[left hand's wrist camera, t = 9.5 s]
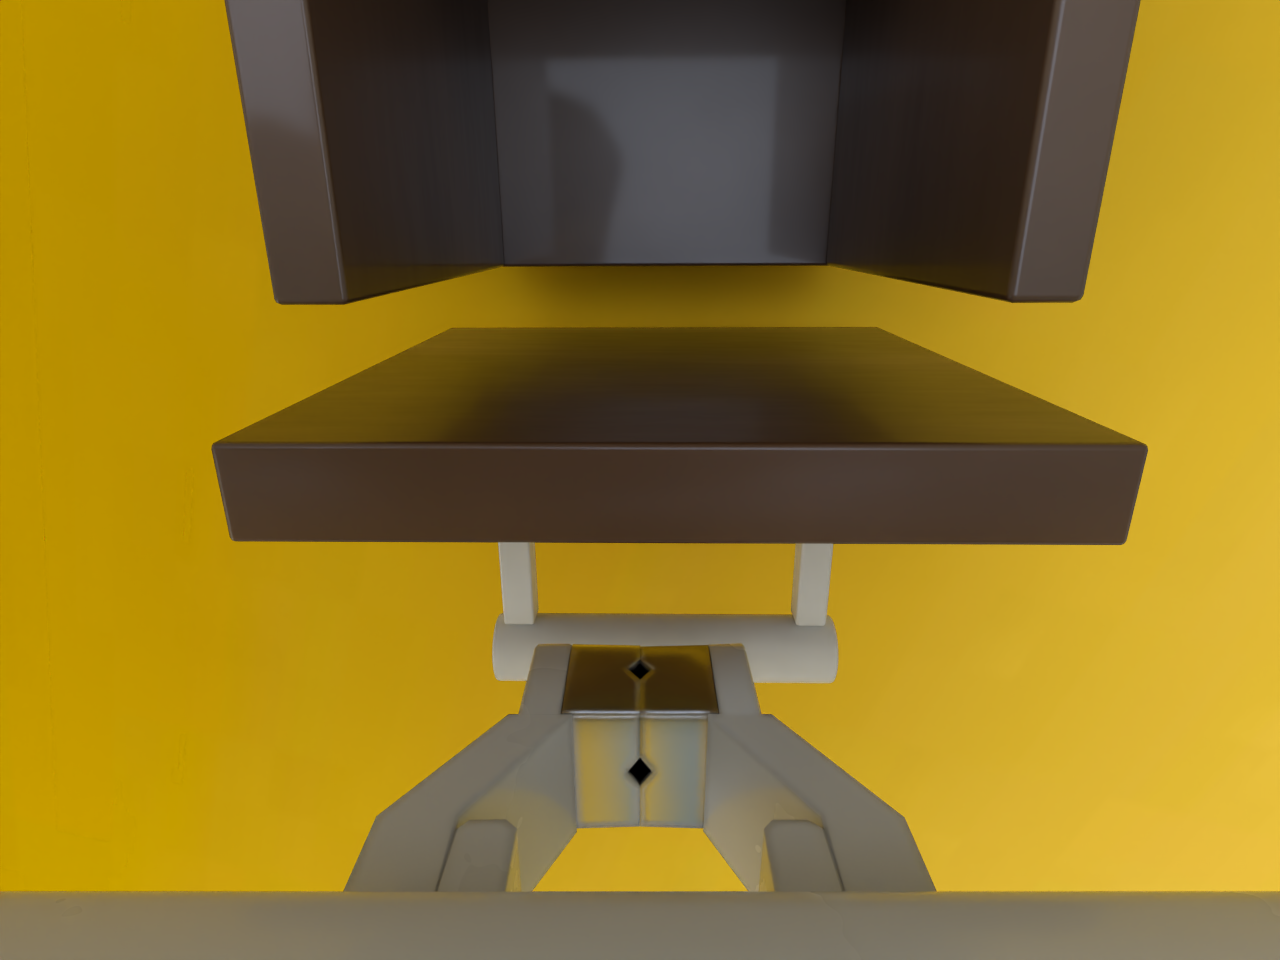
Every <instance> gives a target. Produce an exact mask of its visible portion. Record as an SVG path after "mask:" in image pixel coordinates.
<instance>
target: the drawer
mask: <svg viewBox="0 0 1280 960" xmlns="http://www.w3.org/2000/svg"><path fill="white" fill-rule="evenodd" d="M1139 5H1140V0H225V6H226V12H227V18H228V23H229V29H230V35H231V41H232V47H233V53H234V59H235V65H236V71H237V77H238V83H239V89H240V95H241V101H242V107H243V113H244V119H245V125H246V131H247V137H248V143H249V149H250V155H251V161H252V167H253V173H254V179H255V185H256V191H257V197H258V203H259V209H260V215H261V221H262V227H263V233H264V239H265V245H266V251H267V257H268V263H269V269H270V275H271V280H272V286H273V292H274V298H275V301H276V302H277V303H279V304H282V305H342V304H349V303H353V302H357V301H361V300H365V299H369V298H374V297H378V296H382V295H386V294H390V293H394V292H399V291H403V290H407V289H411V288H415V287H420V286H424V285H428V284H432V283H436V282H440V281H445V280H449V279H453V278H457V277H461V276H466V275H470V274H474V273H478V272H482V271H486V270H491V269H495V268H499V267H551V266H833V267H838V268H843V269H848V270H853V271H858V272H863V273H868V274H873V275H878V276H883V277H888V278H892V279H897V280H902V281H907V282H912V283H917V284H922V285H927V286H932V287H937V288H942V289H947V290H952V291H957V292H962V293H967V294H972V295H976V296H981V297H986V298H991V299H996V300H1001V301H1006V302H1011V303H1073V302H1075V301H1078V300H1080V299H1081V298H1082V296H1083V294H1084V289H1085V284H1086V279H1087V273H1088V268H1089V263H1090V258H1091V253H1092V248H1093V242H1094V237H1095V232H1096V227H1097V222H1098V217H1099V212H1100V206H1101V201H1102V196H1103V191H1104V186H1105V181H1106V175H1107V170H1108V165H1109V160H1110V155H1111V150H1112V145H1113V139H1114V134H1115V129H1116V124H1117V119H1118V114H1119V108H1120V103H1121V98H1122V93H1123V88H1124V83H1125V78H1126V72H1127V67H1128V62H1129V57H1130V52H1131V47H1132V41H1133V36H1134V31H1135V26H1136V21H1137V16H1138V10H1139ZM1147 452H1148V448H1147V446H1146V444H1144V443H1141V442H1139V441H1137V440H1134V439H1132V438H1130V437H1127V436H1125V435H1123V434H1121V433H1118V432H1116V431H1114V430H1111V429H1109V428H1107V427H1105V426H1102V425H1100V424H1098V423H1095V422H1093V421H1091V420H1088V419H1086V418H1084V417H1082V416H1079V415H1077V414H1075V413H1072V412H1070V411H1068V410H1065V409H1063V408H1061V407H1059V406H1056V405H1054V404H1052V403H1049V402H1047V401H1045V400H1043V399H1040V398H1038V397H1036V396H1033V395H1031V394H1029V393H1026V392H1024V391H1022V390H1020V389H1017V388H1015V387H1013V386H1010V385H1008V384H1006V383H1004V382H1001V381H999V380H997V379H994V378H992V377H990V376H987V375H985V374H983V373H981V372H978V371H976V370H974V369H971V368H969V367H967V366H965V365H962V364H960V363H958V362H955V361H953V360H951V359H948V358H946V357H944V356H942V355H939V354H937V353H935V352H932V351H930V350H928V349H926V348H923V347H921V346H919V345H916V344H914V343H912V342H909V341H907V340H905V339H903V338H900V337H898V336H896V335H893V334H891V333H889V332H887V331H884V330H882V329H880V328H877V327H709V328H451V329H449V330H447V331H445V332H443V333H441V334H438V335H436V336H434V337H432V338H430V339H428V340H426V341H424V342H422V343H420V344H418V345H416V346H414V347H412V348H409V349H407V350H405V351H403V352H401V353H399V354H397V355H395V356H393V357H391V358H389V359H387V360H385V361H383V362H380V363H378V364H376V365H374V366H372V367H370V368H368V369H366V370H364V371H362V372H360V373H358V374H356V375H354V376H351V377H349V378H347V379H345V380H343V381H341V382H339V383H337V384H335V385H333V386H331V387H329V388H327V389H325V390H322V391H320V392H318V393H316V394H314V395H312V396H310V397H308V398H306V399H304V400H302V401H300V402H298V403H296V404H293V405H291V406H289V407H287V408H285V409H283V410H281V411H279V412H277V413H275V414H273V415H271V416H269V417H267V418H264V419H262V420H260V421H258V422H256V423H254V424H252V425H250V426H248V427H246V428H244V429H242V430H240V431H238V432H235V433H233V434H231V435H229V436H227V437H225V438H223V439H221V440H219V441H217V442H215V443H213V445H212V453H213V458H214V463H215V468H216V472H217V477H218V482H219V487H220V492H221V496H222V501H223V506H224V511H225V515H226V520H227V525H228V530H229V535H230V538H231V539H232V540H233V541H296V542H498V547H499V560H500V573H501V586H502V600H503V613H502V614H500V615H499V616H498V619H497V621H496V625H495V629H494V636H493V647H492V660H493V670H494V674H495V677H496V679H497V680H499V681H527V677H528V673H529V669H530V665H531V661H532V657H533V653H534V649H535V648H536V646H537V645H538V644H571V645H573V644H598V645H640V646H682V645H709V644H736V643H741V644H742V645H744V646H745V650H746V654H747V658H748V662H749V666H750V670H751V674H752V678H753V682H754V683H832V682H833V681H834V680H835V677H836V674H837V669H838V642H837V635H836V630H835V626H834V623H833V621H832V619H831V617H830V616H828V615H827V606H828V595H829V585H830V574H831V563H832V552H833V544H1028V545H1122V544H1124V543H1125V542H1126V540H1127V535H1128V531H1129V527H1130V523H1131V519H1132V515H1133V510H1134V506H1135V502H1136V498H1137V494H1138V489H1139V485H1140V481H1141V477H1142V473H1143V469H1144V464H1145V460H1146V456H1147ZM535 542H540V543H784V544H796V548H795V562H794V575H793V589H792V602H791V612H792V615H772V614H606V613H537V612H538V592H537V575H536V557H535Z"/></svg>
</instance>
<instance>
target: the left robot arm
mask: <svg viewBox="0 0 1280 960" xmlns="http://www.w3.org/2000/svg"><path fill="white" fill-rule="evenodd" d="M635 826H643V827H678V828H704V829H703V831H704V833H705V834H706V835H707V837H708V838H709V839H710V841H711V842H712V843H713V845H714V846H715V847H716V849H717V850H718V851H719V853H720V854H721V855H722V857H723V858H724V859H725V861H726V862H727V863H728V865H729V866H730V867H731V869H732V870H733V871H734V873H735V874H736V875H737V877H738V878H739V879H740V881H741V882H742V883H743V885H744V886H745V887H746V889H747V890H748V891H722V892H532V891H533V889H534V888H535V887H536V885H537V884H538V883H539V881H540V880H541V879H542V877H543V876H544V875H545V873H546V872H547V871H548V869H549V868H550V867H551V865H552V864H553V863H554V861H555V860H556V859H557V857H558V856H559V855H560V853H561V852H562V851H563V849H564V848H565V847H566V845H567V844H568V843H569V841H570V840H571V839H572V837H573V836H574V835H575V833H576V832H577V828H601V827H635ZM0 960H1280V891H1084V892H937V891H936V889H935V886H934V884H933V882H932V880H931V877H930V875H929V873H928V870H927V868H926V866H925V864H924V861H923V859H922V857H921V854H920V852H919V850H918V848H917V845H916V843H915V841H914V838H913V836H912V834H911V831H910V829H909V827H908V825H907V822H906V820H905V818H904V817H903V816H902V815H901V814H899V813H898V812H897V811H895V810H894V809H893V808H891V807H890V806H889V805H888V804H886V803H885V802H884V801H882V800H881V799H880V798H879V797H877V796H876V795H875V794H873V793H872V792H871V791H870V790H868V789H867V788H866V787H864V786H863V785H862V784H861V783H859V782H858V781H857V780H855V779H854V778H853V777H852V776H850V775H849V774H848V773H846V772H845V771H844V770H843V769H841V768H840V767H839V766H837V765H836V764H835V763H834V762H832V761H831V760H830V759H828V758H827V757H826V756H825V755H823V754H822V753H821V752H819V751H818V750H817V749H816V748H814V747H813V746H812V745H810V744H809V743H808V742H807V741H805V740H804V739H803V738H801V737H800V736H799V735H798V734H796V733H795V732H794V731H792V730H791V729H790V728H789V727H787V726H786V725H785V724H783V723H782V722H781V721H779V720H778V719H777V718H776V717H774V716H773V715H771V714H761V710H760V706H759V702H758V698H757V694H756V690H755V686H754V682H753V678H752V674H751V670H750V666H749V662H748V658H747V654H746V650H745V646H744V645H742V644H741V643H736V644H709V645H682V646H640V645H598V644H573V645H571V644H538V645H537V646H536V648H535V649H534V653H533V657H532V661H531V665H530V669H529V673H528V677H527V682H526V686H525V690H524V694H523V698H522V702H521V706H520V710H519V714H509V715H507V716H506V717H504V718H503V719H502V720H501V721H499V722H498V723H497V724H495V725H494V726H493V727H491V728H490V729H489V730H488V731H486V732H485V733H484V734H482V735H481V736H480V737H479V738H477V739H476V740H475V741H473V742H472V743H471V744H469V745H468V746H467V747H466V748H464V749H463V750H462V751H460V752H459V753H458V754H457V755H455V756H454V757H453V758H451V759H450V760H449V761H447V762H446V763H445V764H444V765H442V766H441V767H440V768H438V769H437V770H436V771H435V772H433V773H432V774H431V775H429V776H428V777H427V778H425V779H424V780H423V781H422V782H420V783H419V784H418V785H416V786H415V787H414V788H413V789H411V790H410V791H409V792H407V793H406V794H405V795H403V796H402V797H401V798H400V799H398V800H397V801H396V802H394V803H393V804H392V805H391V806H389V807H388V808H387V809H385V810H384V811H383V812H382V813H380V814H379V815H378V816H376V819H375V821H374V823H373V825H372V828H371V830H370V832H369V834H368V837H367V839H366V841H365V843H364V846H363V848H362V850H361V852H360V855H359V857H358V859H357V862H356V864H355V866H354V868H353V871H352V873H351V875H350V877H349V880H348V882H347V884H346V886H345V889H344V891H343V892H219V891H217V892H216V891H0Z"/></svg>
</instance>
